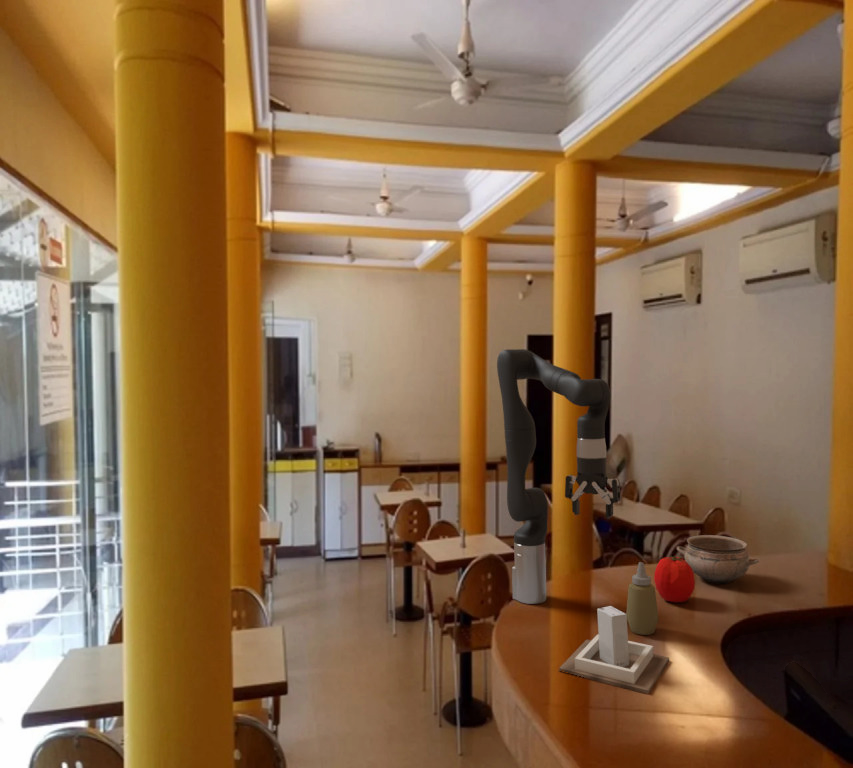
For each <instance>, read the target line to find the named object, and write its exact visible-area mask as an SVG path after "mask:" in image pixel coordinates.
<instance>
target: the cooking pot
mask: <svg viewBox="0 0 853 768" xmlns="http://www.w3.org/2000/svg"><path fill="white" fill-rule="evenodd" d="M686 542H687V543H688V545H687V547H683V546H679V545H678V546H676V550H677V551H678V552H679V553H680V554H681V555H683V556H684V560H685V561H686V562H687V563H688V564H689V565H690V566H691V568H692V570H693V573H694V575H697V576H698V577H700V578H702V579H703V580H705V581H707V582H709V583H711V584H717V585H724V584H728V583H729V582H732V581H735V580H737V579H739V578H741V577H743V576H745V574H746V573H747V572H748V570H749V568H750V566H752V565H756V564H758V563H759V562H760V559H759V558H755V559H753V558H750V557H749V554H748V551H747V549H746V547H747V546H748V545H747V542H745V541H744V540H741V539H738V538H736V537H730V536H723V535H713V534H709V535H708V534H703V535H702V534H701V535H694V536H691V537H688V538H687V539H686Z"/></svg>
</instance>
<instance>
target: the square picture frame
mask: <svg viewBox="0 0 853 768" xmlns="http://www.w3.org/2000/svg"><path fill="white" fill-rule="evenodd" d="M591 640H592V641H591V642H590V643H589V644H588V645H587V646H586V647H585V648H584V649H583V650H582V651H581V652H580V653H579V654H578V655H577V657H576V658H575V669H576V670H580V671H584V672H588V673H592V674H596V675H600V676H604V677H608V678H612V679H616V680H620V681H624V682H628V683H632V684H635V682H636V681H637V679H638V678H639V676H640V675H641V673H642V672H643V670H644V669H645V668H646V666H647V665H648V663H649V662H650V660H651V659H652V657H653V654H654V646H653V645H650V644H645V643H641V642H638V641H637V642H635V641H631V640H628V651H629V653H630V654H634V655H639V658H638V659H637V660H636V662H635V663H634V664H633V666H632V667H631V668H630V669H628V668H624V667H619V666H615V665H611V664H607V663H602V662H598V661H594V660H590V659H591V658H592V656H593V655H594V654H595V653H596V652H597V651H598V650H599V633H598V634H596V635H595V636H594V637H593V639H591Z"/></svg>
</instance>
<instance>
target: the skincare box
mask: <svg viewBox="0 0 853 768" xmlns="http://www.w3.org/2000/svg"><path fill="white" fill-rule="evenodd" d="M596 610H597V611H596V612H597V627H598V628H597V629H598V631H597V632H598V634H599V651H600V659H602V660H603V661H605V662H606V663H608V664H611V665H615V666H619V667H626V666H629V651H628V641H629V635H628V620H627V614H626V612H623V611H621V610H620V609H617V608H615V607H614V606H612V605H609V606H605V607H604V606H603V607H599V608H597V609H596Z"/></svg>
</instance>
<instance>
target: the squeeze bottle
mask: <svg viewBox="0 0 853 768" xmlns="http://www.w3.org/2000/svg"><path fill="white" fill-rule="evenodd" d="M631 579H632V580H631V583H630V584H629V585H628V590H627V600H626V601H627V602H626V612H625V614H627V624H628V625H629V629H630V631H631V632H632V633H634V634H637V635H644V636H647V635H652V634H654V633H655V631H656V628H657V625H658V621H659V620H660V619H659V618H660V617H659V611H658V603H657V594H656V586H654V585H653V584H652V577H651V576H650V575H647V571H646V568H645V563H644V562H641V561H640V562H638V565H637V570H636V573H635V574H633V575H632V576H631Z"/></svg>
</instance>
